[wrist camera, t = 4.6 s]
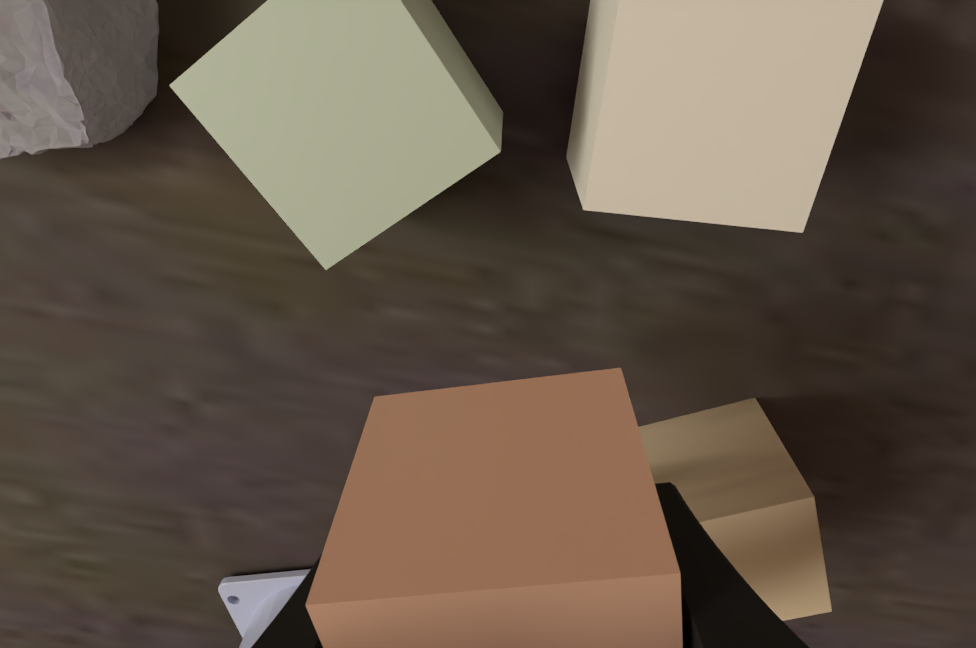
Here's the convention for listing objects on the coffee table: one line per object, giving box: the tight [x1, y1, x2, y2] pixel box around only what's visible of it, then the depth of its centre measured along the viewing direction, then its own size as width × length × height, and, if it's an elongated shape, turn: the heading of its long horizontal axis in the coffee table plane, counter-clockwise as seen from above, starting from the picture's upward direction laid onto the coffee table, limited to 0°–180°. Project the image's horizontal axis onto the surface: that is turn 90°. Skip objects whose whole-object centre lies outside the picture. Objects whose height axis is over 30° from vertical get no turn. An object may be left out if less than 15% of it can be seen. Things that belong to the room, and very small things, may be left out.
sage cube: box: [169, 0, 503, 270], centre depth 16 cm, size 5×5×5 cm
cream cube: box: [566, 0, 883, 233], centre depth 15 cm, size 5×5×5 cm
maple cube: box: [638, 398, 832, 621], centre depth 22 cm, size 5×5×5 cm
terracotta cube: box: [305, 368, 683, 648], centre depth 12 cm, size 5×5×5 cm
